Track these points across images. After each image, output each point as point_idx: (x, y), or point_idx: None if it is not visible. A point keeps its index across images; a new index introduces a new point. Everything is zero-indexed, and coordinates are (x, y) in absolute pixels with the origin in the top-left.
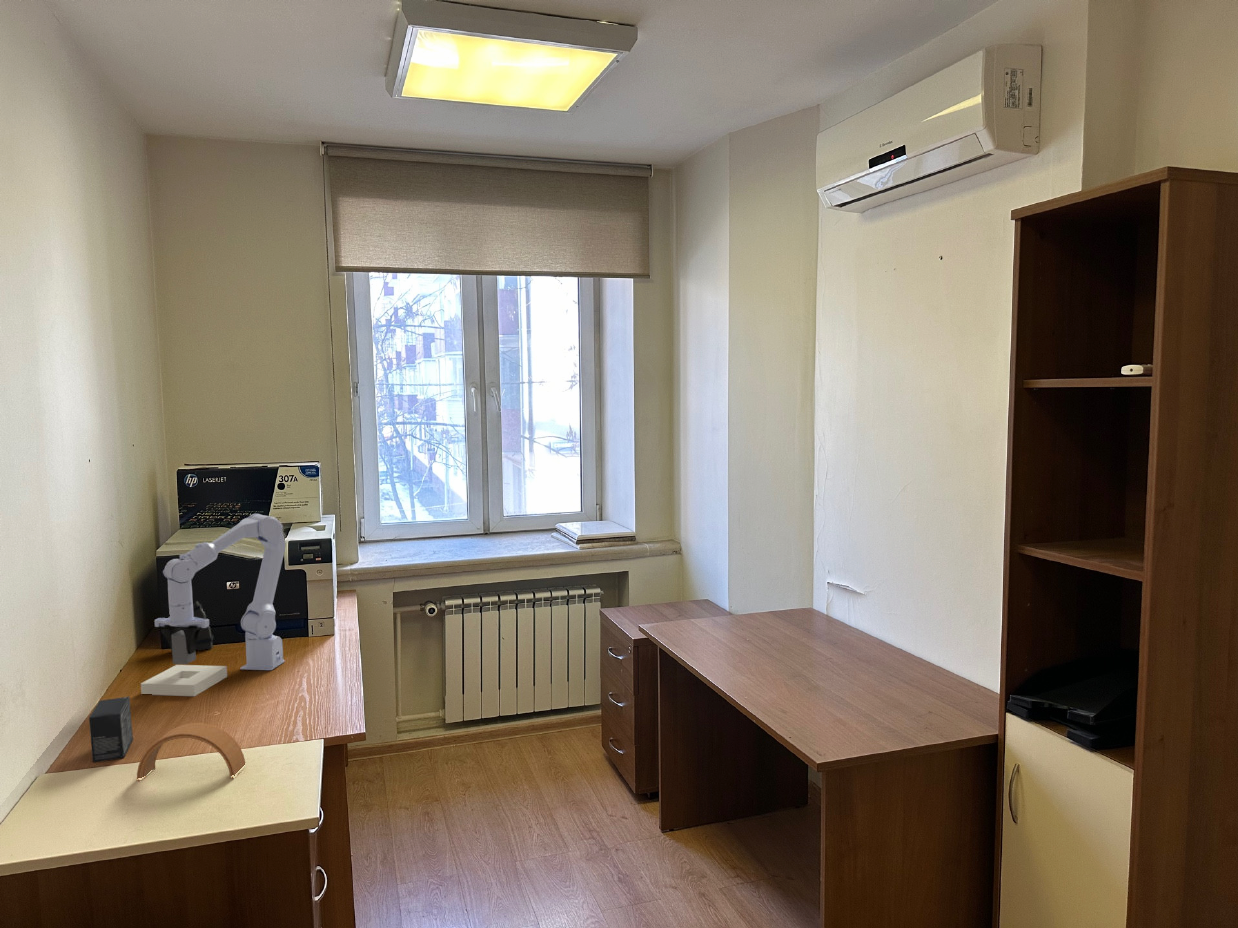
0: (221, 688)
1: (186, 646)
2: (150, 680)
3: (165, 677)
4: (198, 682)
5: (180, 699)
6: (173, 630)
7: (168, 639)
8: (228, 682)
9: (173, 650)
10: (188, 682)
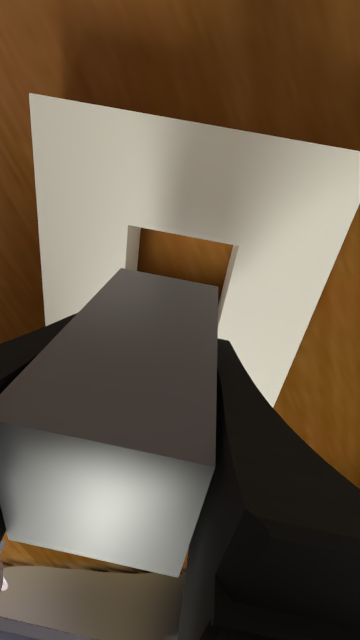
0: (6, 213)
1: (68, 332)
2: (330, 210)
3: (259, 253)
4: (33, 146)
5: (108, 51)
6: (207, 559)
7: (261, 418)
8: (25, 283)
9: (205, 329)
10: (90, 151)
